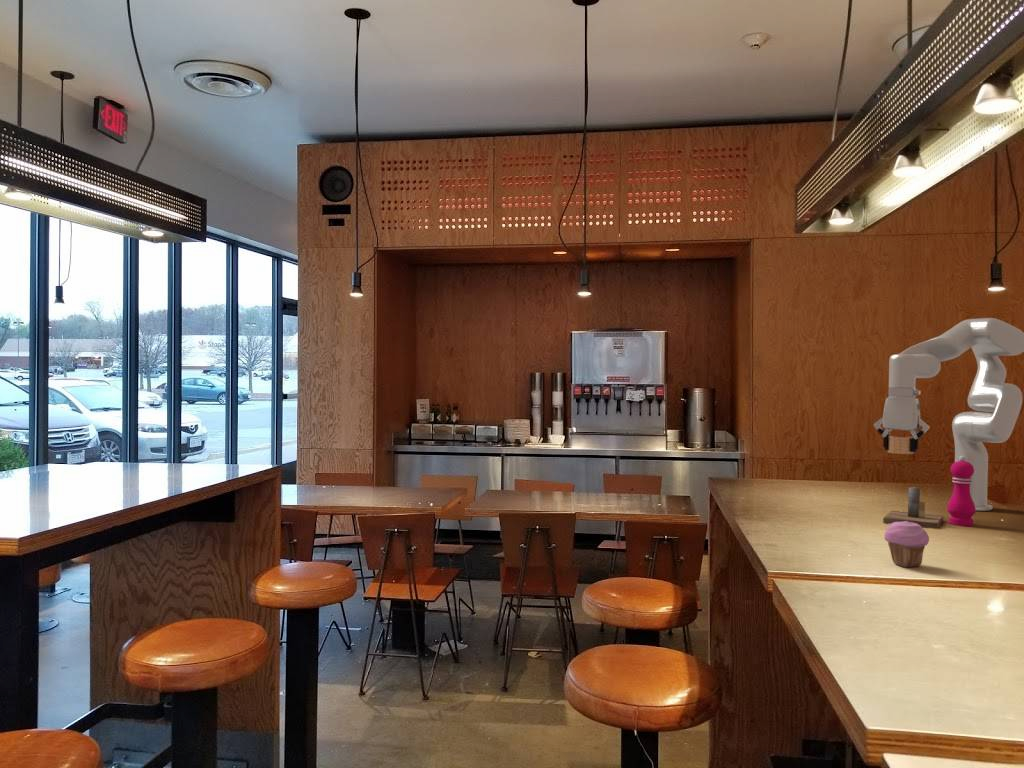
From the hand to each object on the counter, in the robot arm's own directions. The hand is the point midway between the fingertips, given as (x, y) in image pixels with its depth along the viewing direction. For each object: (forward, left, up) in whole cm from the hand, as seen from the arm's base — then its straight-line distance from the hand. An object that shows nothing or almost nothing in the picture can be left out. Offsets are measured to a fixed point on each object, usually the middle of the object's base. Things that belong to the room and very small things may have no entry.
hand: (900, 450), depth 253 cm
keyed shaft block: (+13, +6, -20) cm, 24 cm away
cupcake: (+77, +12, -20) cm, 80 cm away
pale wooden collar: (0, 0, -1) cm, 1 cm away
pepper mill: (+9, +18, -20) cm, 28 cm away
